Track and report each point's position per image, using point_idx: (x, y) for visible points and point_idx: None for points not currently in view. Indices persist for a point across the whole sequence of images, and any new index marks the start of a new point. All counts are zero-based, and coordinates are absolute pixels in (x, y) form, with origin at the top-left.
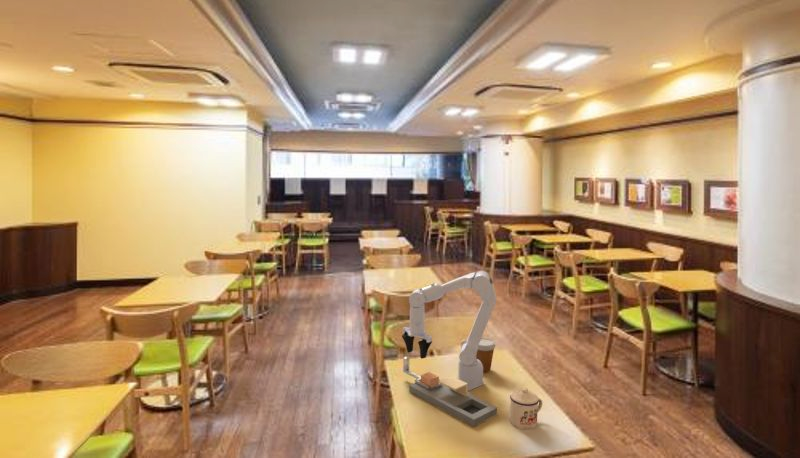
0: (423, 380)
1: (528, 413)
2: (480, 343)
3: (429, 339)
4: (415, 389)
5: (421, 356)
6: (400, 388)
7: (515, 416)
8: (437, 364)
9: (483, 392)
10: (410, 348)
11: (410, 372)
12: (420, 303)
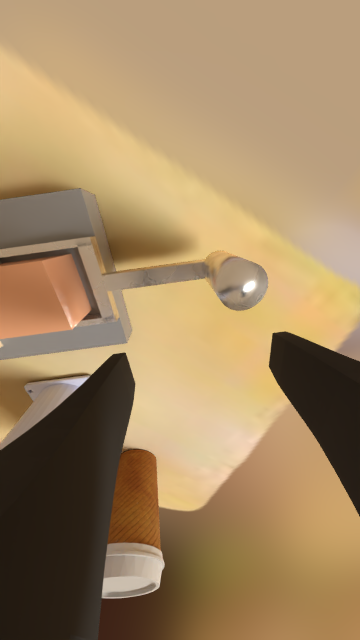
0: (32, 260)
1: None
2: (115, 578)
3: None
4: (33, 197)
5: (103, 363)
6: (143, 174)
7: None
8: (229, 403)
9: (10, 407)
10: (288, 370)
11: (180, 269)
12: None
